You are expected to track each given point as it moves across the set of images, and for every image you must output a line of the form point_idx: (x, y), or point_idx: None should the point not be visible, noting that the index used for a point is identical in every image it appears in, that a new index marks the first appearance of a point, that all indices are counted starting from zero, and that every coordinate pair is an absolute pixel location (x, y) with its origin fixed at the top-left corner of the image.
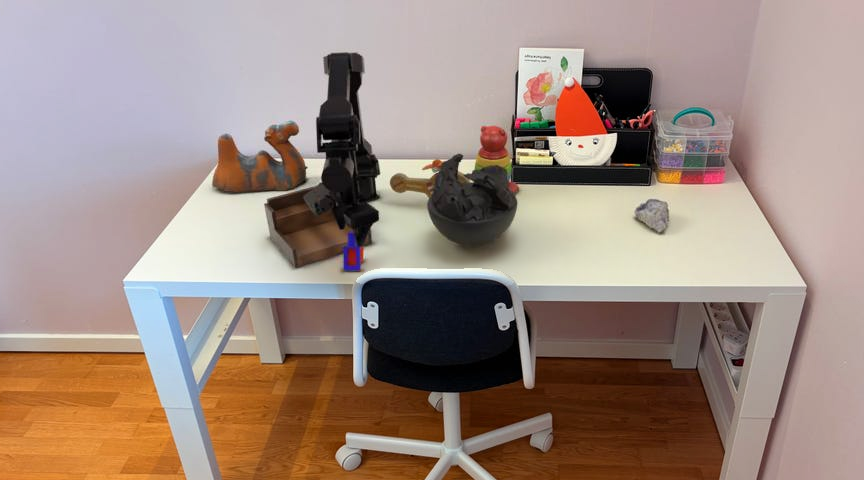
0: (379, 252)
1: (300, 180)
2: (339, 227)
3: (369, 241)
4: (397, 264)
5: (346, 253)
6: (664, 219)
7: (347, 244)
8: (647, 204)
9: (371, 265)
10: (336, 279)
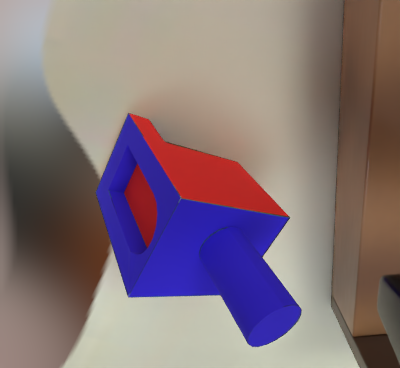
0: None
1: None
2: (397, 289)
3: (337, 308)
4: (106, 333)
5: (152, 186)
6: None
7: (352, 217)
8: None
9: None
10: (66, 45)
